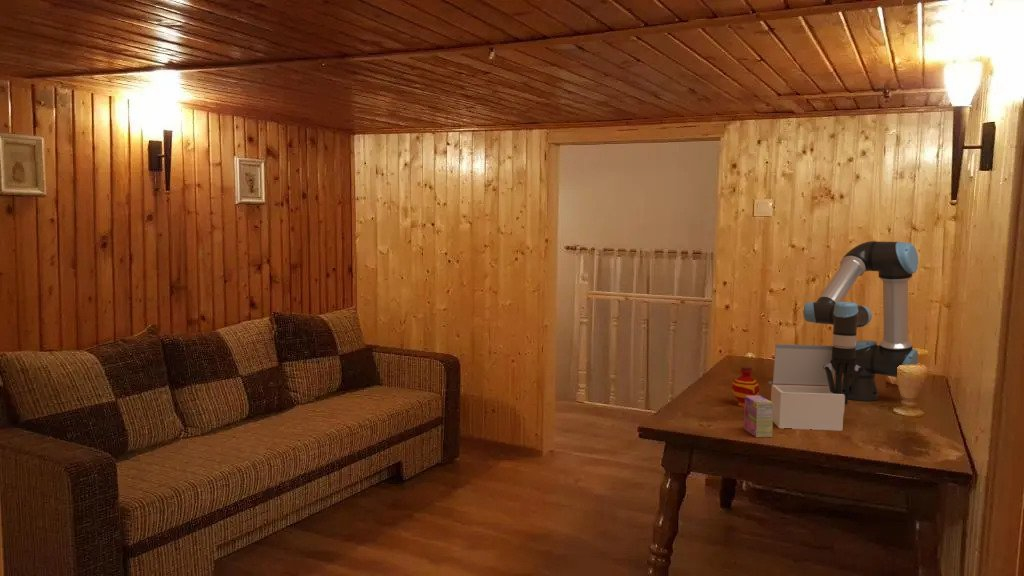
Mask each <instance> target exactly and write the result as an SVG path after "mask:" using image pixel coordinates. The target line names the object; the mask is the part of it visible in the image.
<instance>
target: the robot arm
mask: <svg viewBox="0 0 1024 576" xmlns="http://www.w3.org/2000/svg"><path fill="white" fill-rule="evenodd" d="M918 265H919V255H918V251H917V249H916V247H915V245H913V244H912V243H911V242H904V241H875V240H872V241H871V240H870V241H865V242H863V243H860V244H858V245H856V246H855V247H853V248H851V249H850V250H849V251H848V252H846V253H845V255H843V257H842V258H841V260H840V261H839V268H838V269H837V271H836V272H835V274H834V275H833V277H832V278H831V280H830V281H829V282H828V284H827V286H826V287H825V288H824V290H823V291H822V292H821V294H820V295H819V297H818V299H817V300H816V301H808V302H806V303H805V305H804V307H803V314H802V315H803V318H804V320H805V321H806V322H808V323H813V324H814V323H815V324H821V325H822V324H823V325H831V326H833V327H832V346H833V347H832V359H831V361H830V364H828V365H824V366H823V368H824V369H825V371H826V374H827V379H828V384H829V385H828V387H829V388H830V392H832V393H833V394H844V411H843V415H845V408H846V407H845V406H846V405H848V404H849V403H848V402H849V400H854V401H861V402H862V401H863V402H864V401H865V402H866V401H867V402H868V401H869V402H870V401H871V402H873V401H878V400H879V390H878V387H877V384H876V380H875V379H876V378H875V377H876V375H879V376H886V377H887V376H888V377H891V378H892V377H894V378H897V367H898V366H899V365H905V364H917V365H918V361H919V352H918V350H917V349H915V348H914V349H913V343H912V342H911V341H910V340H909V288H908V286H909V283H908V282H909V280H911V279H912V278H913V274H915V273H916V272H917V270H918ZM865 272H878V278H879V279H880V280H881V281H882V299H883V300H882V302H883V303H882V307H883V308H882V309H883V310H882V311H883V316H882V317H883V322H882V323H883V339H882V340H880V342H879V344H878V341H877V340H857V336H858V335H857V334H858V333H857V332H858V331H857V329H858V328H863V327H865V326H867V325H869V323H871V321H872V318H873V315H872V312H871V309H870V308H868V307H867V306H865V305H861V304H860V305H859V304H857V302H852V301H851V302H850V301H843V300H845V297H846V296H847V295H848V293H849V292H850V290H851V288H852V287H853V285H854V284H855V283H856V281H857V280H858V278H859V277H861V276H863V275H864V273H865ZM832 367H833V369H834V370H835V380H834V381H833V376H832V372H831V370H832ZM834 384H836V385H835V386H834Z"/></svg>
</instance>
